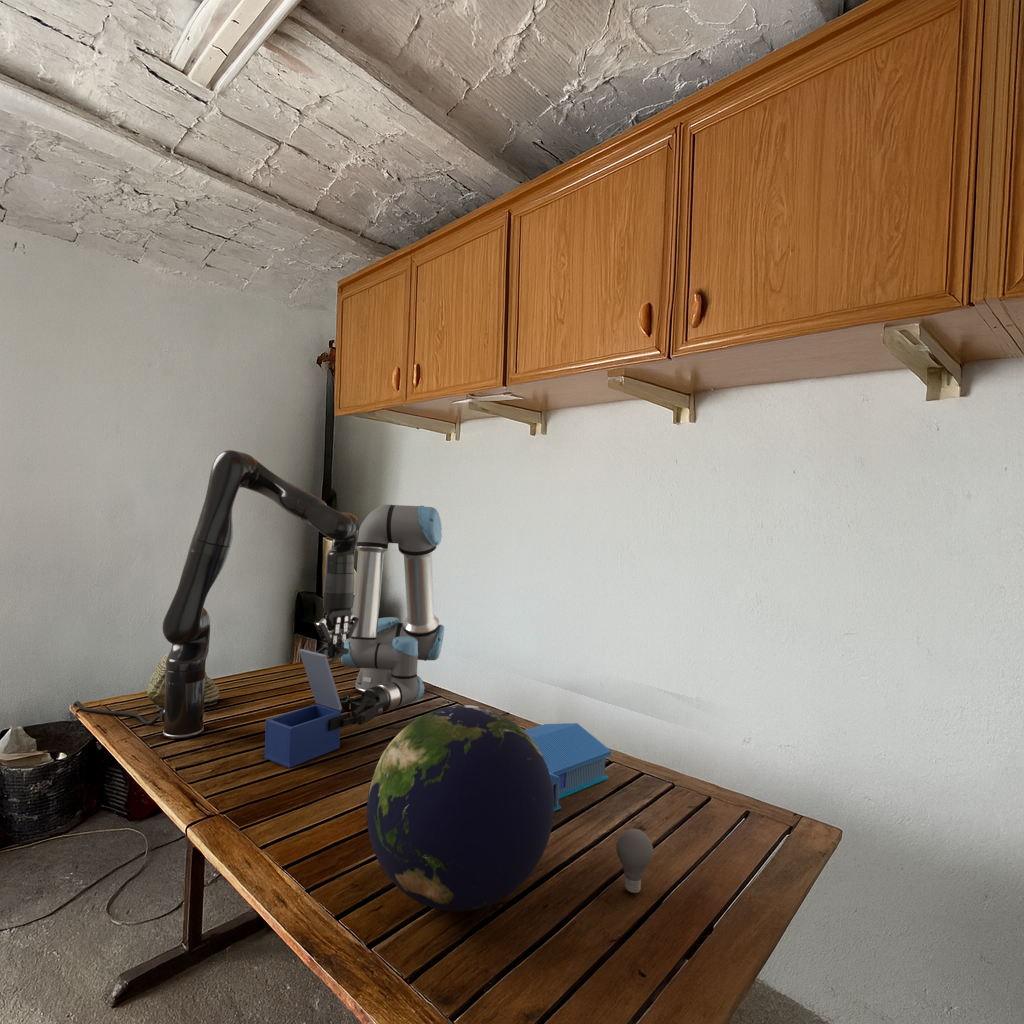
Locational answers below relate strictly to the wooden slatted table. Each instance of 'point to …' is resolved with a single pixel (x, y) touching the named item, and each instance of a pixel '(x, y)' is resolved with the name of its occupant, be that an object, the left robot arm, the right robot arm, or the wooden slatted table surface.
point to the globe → (460, 808)
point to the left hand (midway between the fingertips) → (335, 656)
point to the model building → (570, 757)
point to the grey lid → (322, 676)
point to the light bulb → (634, 857)
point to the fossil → (158, 687)
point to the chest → (301, 735)
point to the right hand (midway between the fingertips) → (315, 720)
